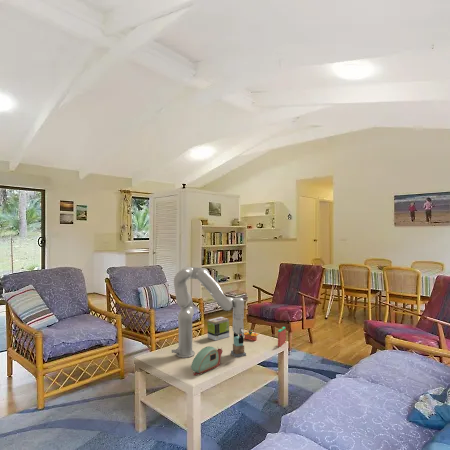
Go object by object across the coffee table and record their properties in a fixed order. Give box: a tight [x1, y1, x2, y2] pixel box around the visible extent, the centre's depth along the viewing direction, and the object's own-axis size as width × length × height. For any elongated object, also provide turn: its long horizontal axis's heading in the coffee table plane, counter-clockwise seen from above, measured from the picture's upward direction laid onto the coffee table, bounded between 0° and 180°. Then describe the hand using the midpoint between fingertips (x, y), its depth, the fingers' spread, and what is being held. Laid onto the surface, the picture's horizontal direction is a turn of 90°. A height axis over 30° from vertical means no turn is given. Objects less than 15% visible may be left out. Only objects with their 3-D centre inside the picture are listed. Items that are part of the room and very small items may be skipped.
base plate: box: [230, 349, 247, 358], centre depth 234 cm, size 8×8×2 cm
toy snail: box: [190, 345, 223, 376], centre depth 211 cm, size 25×8×14 cm, turn 138°
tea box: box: [206, 316, 230, 341], centre depth 272 cm, size 15×10×15 cm, turn 130°
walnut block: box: [232, 343, 245, 354], centre depth 234 cm, size 6×6×5 cm
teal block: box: [233, 335, 244, 346], centre depth 234 cm, size 5×5×5 cm
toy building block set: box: [240, 326, 287, 347], centre depth 261 cm, size 12×35×14 cm, turn 60°
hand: (238, 340), depth 234 cm, fingers open, 9 cm apart
